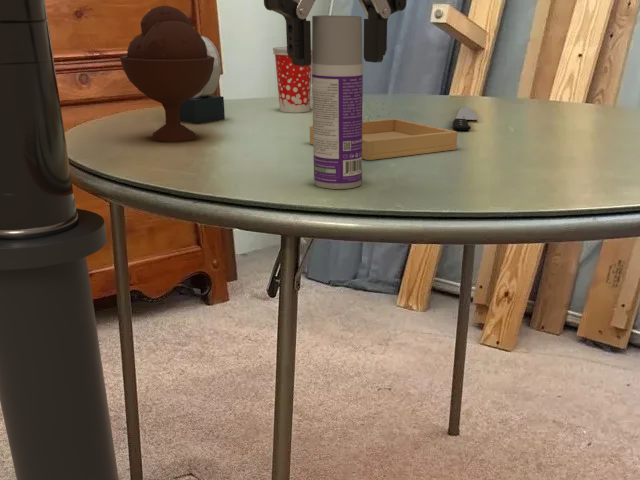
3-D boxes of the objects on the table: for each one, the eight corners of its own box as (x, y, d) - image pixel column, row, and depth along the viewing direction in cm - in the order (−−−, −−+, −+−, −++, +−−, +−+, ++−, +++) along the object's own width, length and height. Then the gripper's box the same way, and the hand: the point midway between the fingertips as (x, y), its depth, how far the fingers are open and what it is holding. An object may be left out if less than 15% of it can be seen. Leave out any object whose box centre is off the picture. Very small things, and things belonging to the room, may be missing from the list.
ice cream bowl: (113, 136, 99) (96, 4, 93) (191, 128, 106) (182, 4, 99) (154, 148, 92) (140, 7, 86) (235, 139, 99) (228, 7, 92)
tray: (368, 160, 89) (368, 141, 88) (309, 143, 97) (309, 126, 96) (456, 149, 96) (457, 131, 95) (394, 134, 104) (395, 118, 104)
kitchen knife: (472, 131, 108) (472, 127, 108) (449, 130, 108) (450, 127, 108) (479, 107, 128) (479, 104, 128) (461, 107, 129) (461, 103, 128)
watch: (194, 115, 117) (187, 34, 112) (233, 120, 113) (228, 36, 108) (164, 119, 113) (156, 35, 108) (204, 125, 108) (198, 38, 104)
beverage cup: (306, 114, 120) (304, 12, 114) (268, 111, 121) (264, 11, 115) (320, 109, 125) (319, 11, 119) (284, 106, 127) (281, 10, 121)
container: (356, 177, 80) (357, 15, 74) (366, 188, 76) (367, 17, 70) (310, 179, 79) (307, 15, 73) (317, 189, 75) (314, 16, 69)
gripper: (379, -135, 72) (376, 58, 80) (238, -152, 65) (249, 63, 72) (432, -144, 67) (424, 64, 74) (285, -164, 59) (292, 70, 66)
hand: (338, 63), depth 73 cm, fingers open, 7 cm apart
